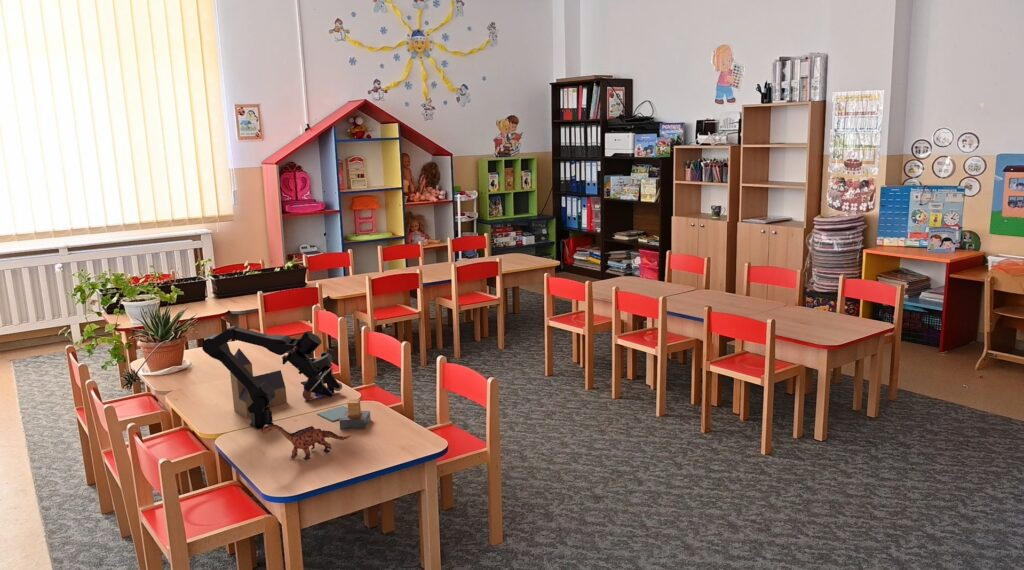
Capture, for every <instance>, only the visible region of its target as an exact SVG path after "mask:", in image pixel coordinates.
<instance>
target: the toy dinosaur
mask: <svg viewBox="0 0 1024 570" xmlns="http://www.w3.org/2000/svg"><path fill="white" fill-rule="evenodd" d="M271 430H275V431H278V432H280V433H281V435H282V436H283V437H284V438H286V439H287V441H290V442H291V444H292V446H294V447H293V449H292V451H291V456H290V457H289V460H290V459H291V460H294V459H296V458H297V457H298V450H302V451H303V453H304V454H305V456H304V457H302V458H301V461H303V462H305V461H309V460H311V451H312V450H315V449H316V445H315V444H316V443H317V444H318V445H320V446H323V447H324V449H322V452H323V453H325V454H328V453H330V451H331V450H332V443H331V442H328V441H326V440H325V439H326V438H327V439H329V438H332V439H335V440H340V441H345V440H348V439H350V437H352V434H350V435H348V436H342V435H341V436H340V435H338V434H336V433H335V432H332V430H331V431H330V430H325V429H323V430H322V429H321V428H315V427H314V426H313V425H312V426H308V427H305V428H301V429H298V430H297V431H295V432H293V433H292V432H289V431H287V430H286V429H284V427H282V426H279V425H278V424H274V425H272V424H270V425H265V426H264V427H263V428H261V430H260V433H263V434H265V433H267V432H269V431H271ZM310 447H311V448H310Z"/></svg>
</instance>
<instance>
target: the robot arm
mask: <svg viewBox="0 0 1024 570" xmlns="http://www.w3.org/2000/svg"><path fill="white" fill-rule="evenodd" d="M231 340H234V341H238V342H242V343H247V344H252V345H254V346H259V347H262V348H264V349H266V350H267V351H268V352H271V353H273V354H275V355H277V356H282V358H281V359H282V365H285V364H287V362H288V363H290V364H291V365H292V366H293V367H294V368H295V369H297V370H298V374H299V375H301V374H302V375H304V377H306V378H307V379H306V381H307V382H306V384H305V385H303V391H304V390H305V391H306V392H309V391H310V390H311V389H312V390H311V391H310V393H311V392H312V393H317V394H321V395H324V396H323V397H328V398H333V396H334V395H333V394H334V393H331V391H330V390H329V389H328V388H327V384H329V385H331V386H333V387H335V388H337V389H339V388H340V385H339V384H338V382H339V381H338V380H337V379H336V377H335V375H334V374H333V370H334V367H333V364H332V363H333V362H334V360H333V358H332V357H333V356H332V354H330V353H329V352H327V351H323V352H321V354H320V357H319V358H314V357H312V358H310V357H309V356H308V355H312V354H313V353H314V352H316V350H317V349H318V348H319V346H320V345H321V344H322V339H321V338H320V337H319V336H318V335H317V334H315V333H312V332H310V331H308V330H306V331H305V332H304V333H303V334H302V336H301V337H300V338H292V337H290V336H289V335H285V334H266V333H261V332H258V331H253V330H250V329H246V328H242V327H238V326H237V325H232V326H229V327H228V328H226V329H225V330H224V331H223V332H220V333H218V334H217V333H215V334H212V335H211V336H209V337H207V338H205V339H204V340H203V341H202V343H201V349H202V351H203V352H204V353H205V354H206V355H208V356H209V357H211V358H213V359H214V360H217V361H219V362H220V363H221V364H222V365H223V366H224V367H225V368H226V369H227V370H228V372H229V373H230V372H231V373H232V374H233V375H234V376H235V377H236V378H237V379H238V380H239V381H240V383H241V384H242V385H243V386H244V387H245V388H246V389H247V390H248V393H249V396H250V398H251V400H252V401H253V403H252V404H251V405H250V406H249V407H248V411H249V413H251V418H250V420H251V422H250V423H249V425H250V426H251V427H252V428H254V429H255V430H260V429H261V430H262V429H263V427H264V426H265V425H270V424H272V425H275V424H274V422H273V411H272V410H271V406H270V407H268V406H269V405H271V402H272V401H273V400H274V398H275V392H274V390H273V389H274V388H273V387H271V386H270V385H269V384H268V382H267V381H265V382H264V383H262V382H259V381H258V380H257V379H256V378H255V377H254V376H255V375H254V374H253V375H252V374H251V373H250V372H249V371H248V370H247V369H246V368H245V367H244V366H243V365H242V364H241V362H240V361H239V360H238V359H237V358H236V357H235V356H234V355H235V354H233V353H232V351H231V350H230V346H229V344H228V342H229V341H231ZM296 347H297V348H296ZM295 348H296V349H295ZM294 349H295V350H294ZM320 379H321V380H320ZM323 382H325V383H326V385H325V384H324V383H323Z"/></svg>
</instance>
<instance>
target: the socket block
mask: <svg viewBox="0 0 1024 570" xmlns="http://www.w3.org/2000/svg"><path fill="white" fill-rule="evenodd" d="M371 418H372V417H371V410H361V416H360V418H349V415H348V411H345V413H344V414H343V416H342V417H341V418H340V420H338V422H339V430H366V429H367V426H368V425H369V423H370V422H371ZM369 421H370V422H369Z"/></svg>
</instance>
